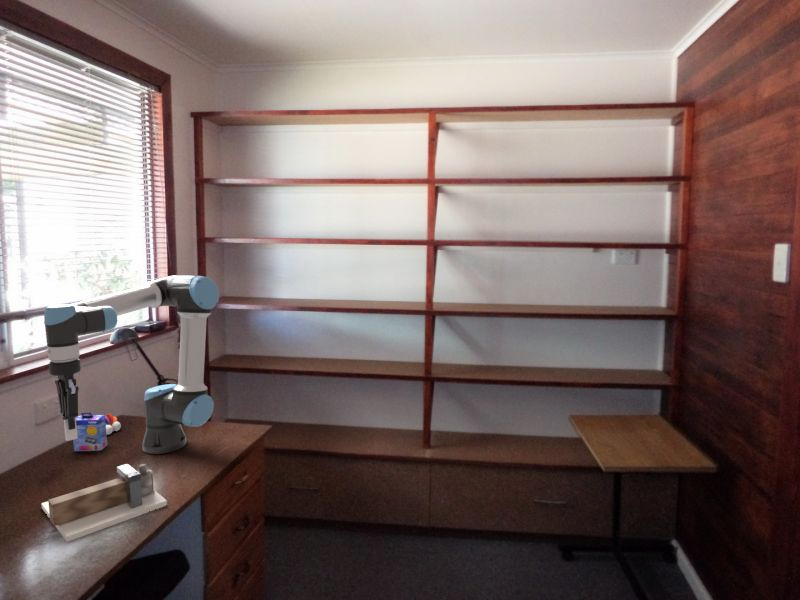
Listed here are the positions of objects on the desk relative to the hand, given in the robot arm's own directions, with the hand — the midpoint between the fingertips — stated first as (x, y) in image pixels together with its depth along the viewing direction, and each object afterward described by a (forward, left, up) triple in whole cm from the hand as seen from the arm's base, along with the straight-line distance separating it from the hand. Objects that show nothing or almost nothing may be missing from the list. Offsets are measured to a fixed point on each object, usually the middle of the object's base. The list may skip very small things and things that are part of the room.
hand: (71, 439), depth 154 cm
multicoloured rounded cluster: (-26, -58, -21) cm, 67 cm away
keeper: (-11, +11, -21) cm, 26 cm away
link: (-5, +9, -19) cm, 22 cm away
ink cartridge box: (-17, -44, -21) cm, 52 cm away
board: (-6, +6, -21) cm, 22 cm away
